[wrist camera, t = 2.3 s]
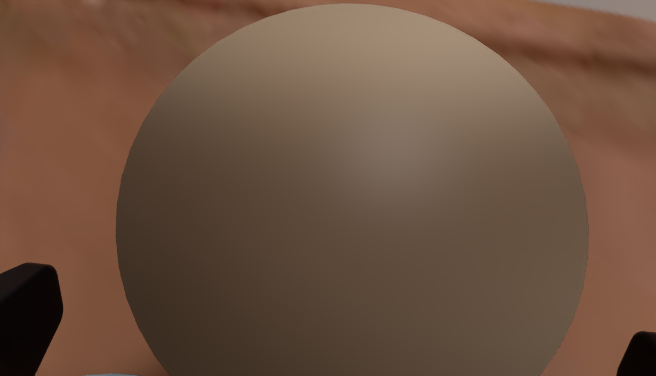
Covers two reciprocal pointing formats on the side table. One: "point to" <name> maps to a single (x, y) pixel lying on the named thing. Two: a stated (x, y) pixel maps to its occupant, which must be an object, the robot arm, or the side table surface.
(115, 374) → the mat
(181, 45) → the side table surface
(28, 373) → the robot arm
